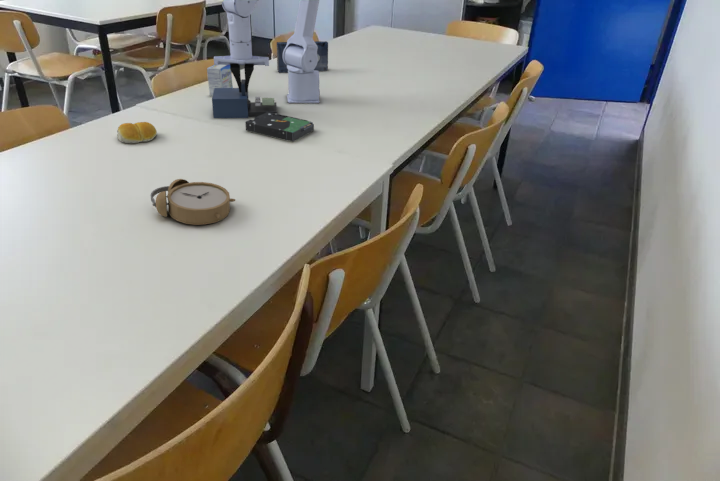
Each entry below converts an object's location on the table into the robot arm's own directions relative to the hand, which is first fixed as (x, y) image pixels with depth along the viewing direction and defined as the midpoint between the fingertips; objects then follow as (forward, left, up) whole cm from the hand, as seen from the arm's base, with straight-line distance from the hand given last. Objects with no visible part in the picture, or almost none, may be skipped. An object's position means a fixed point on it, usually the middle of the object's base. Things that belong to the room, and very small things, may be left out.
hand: (243, 91), depth 152 cm
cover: (+4, 0, -6) cm, 7 cm away
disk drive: (-10, +16, -6) cm, 20 cm away
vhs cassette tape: (-20, -47, -6) cm, 51 cm away
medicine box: (+7, -18, -6) cm, 20 cm away
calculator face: (-6, 0, -3) cm, 6 cm away
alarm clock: (+8, +59, -6) cm, 60 cm away
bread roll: (+25, +20, -6) cm, 33 cm away
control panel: (-2, 0, -6) cm, 6 cm away
